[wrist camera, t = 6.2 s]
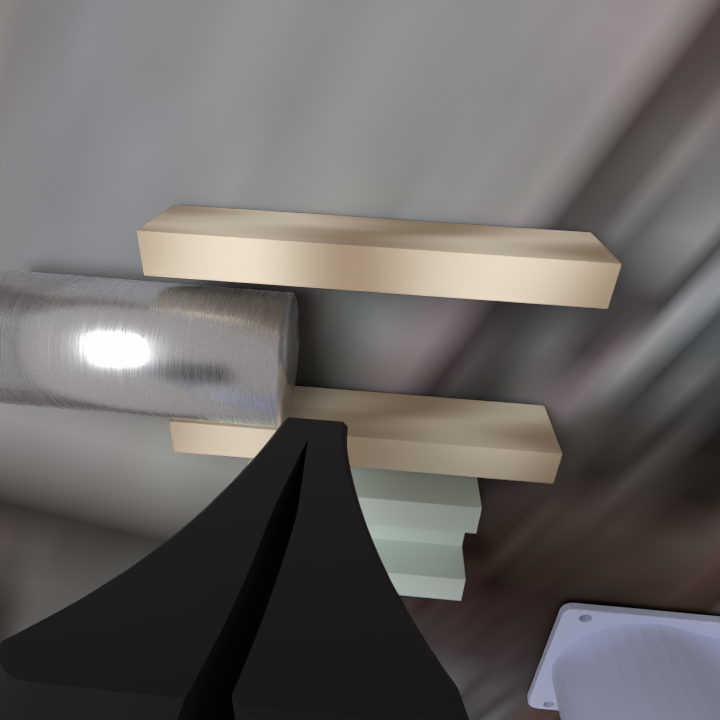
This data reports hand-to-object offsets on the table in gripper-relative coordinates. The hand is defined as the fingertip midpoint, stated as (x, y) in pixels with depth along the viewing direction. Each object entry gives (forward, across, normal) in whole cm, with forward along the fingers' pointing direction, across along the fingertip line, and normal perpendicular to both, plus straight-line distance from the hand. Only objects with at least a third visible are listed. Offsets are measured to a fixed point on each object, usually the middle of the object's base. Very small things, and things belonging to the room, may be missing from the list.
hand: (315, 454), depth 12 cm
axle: (+4, +6, 0) cm, 7 cm away
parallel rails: (+6, -1, 0) cm, 6 cm away
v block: (+6, -1, +7) cm, 9 cm away
